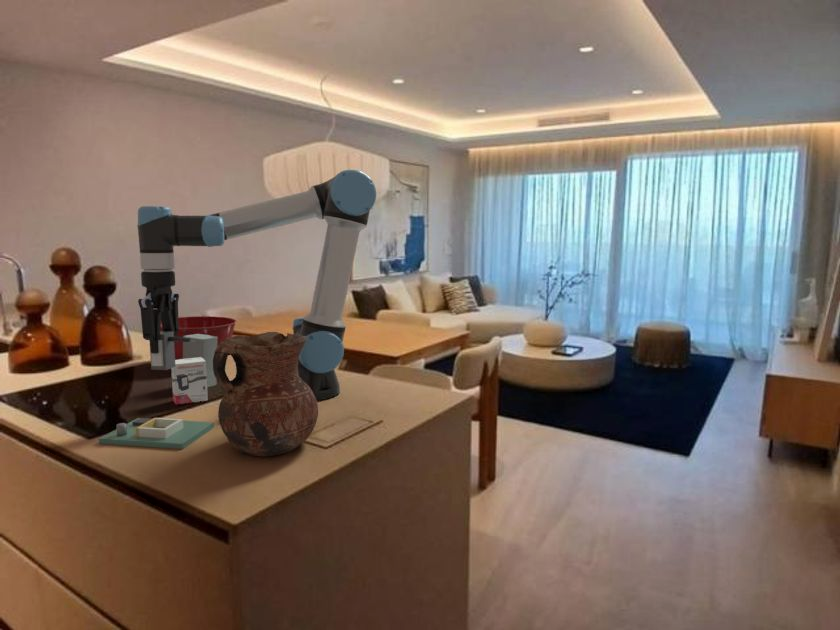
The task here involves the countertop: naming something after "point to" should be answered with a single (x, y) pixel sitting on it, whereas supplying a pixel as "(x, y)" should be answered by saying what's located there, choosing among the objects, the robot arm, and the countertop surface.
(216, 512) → the countertop surface
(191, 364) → the ink box
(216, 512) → the countertop surface
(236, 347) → the jug
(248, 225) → the robot arm
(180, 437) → the board
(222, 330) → the mixing bowl
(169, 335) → the grey handled block
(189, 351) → the skincare box
